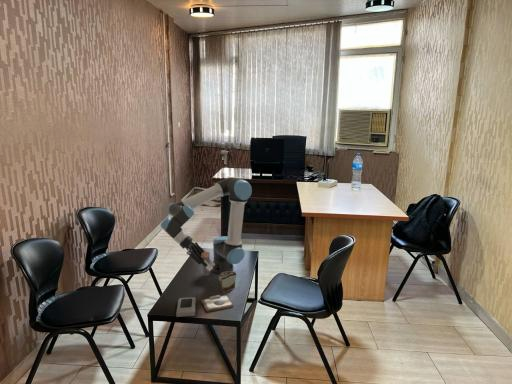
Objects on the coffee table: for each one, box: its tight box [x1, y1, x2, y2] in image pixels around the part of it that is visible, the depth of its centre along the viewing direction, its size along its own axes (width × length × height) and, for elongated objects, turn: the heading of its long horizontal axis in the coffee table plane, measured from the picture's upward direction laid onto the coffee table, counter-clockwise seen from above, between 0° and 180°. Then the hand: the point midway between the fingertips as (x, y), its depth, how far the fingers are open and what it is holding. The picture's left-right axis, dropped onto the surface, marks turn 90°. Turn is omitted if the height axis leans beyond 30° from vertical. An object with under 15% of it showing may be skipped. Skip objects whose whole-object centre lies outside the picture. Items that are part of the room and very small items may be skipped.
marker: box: [201, 251, 211, 277], centre depth 209 cm, size 5×5×13 cm
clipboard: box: [201, 294, 234, 313], centre depth 203 cm, size 12×15×2 cm
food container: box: [218, 270, 238, 294], centre depth 220 cm, size 12×6×10 cm, turn 134°
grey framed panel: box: [175, 297, 197, 318], centre depth 198 cm, size 10×4×15 cm
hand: (212, 267), depth 209 cm, fingers closed on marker, 4 cm apart
